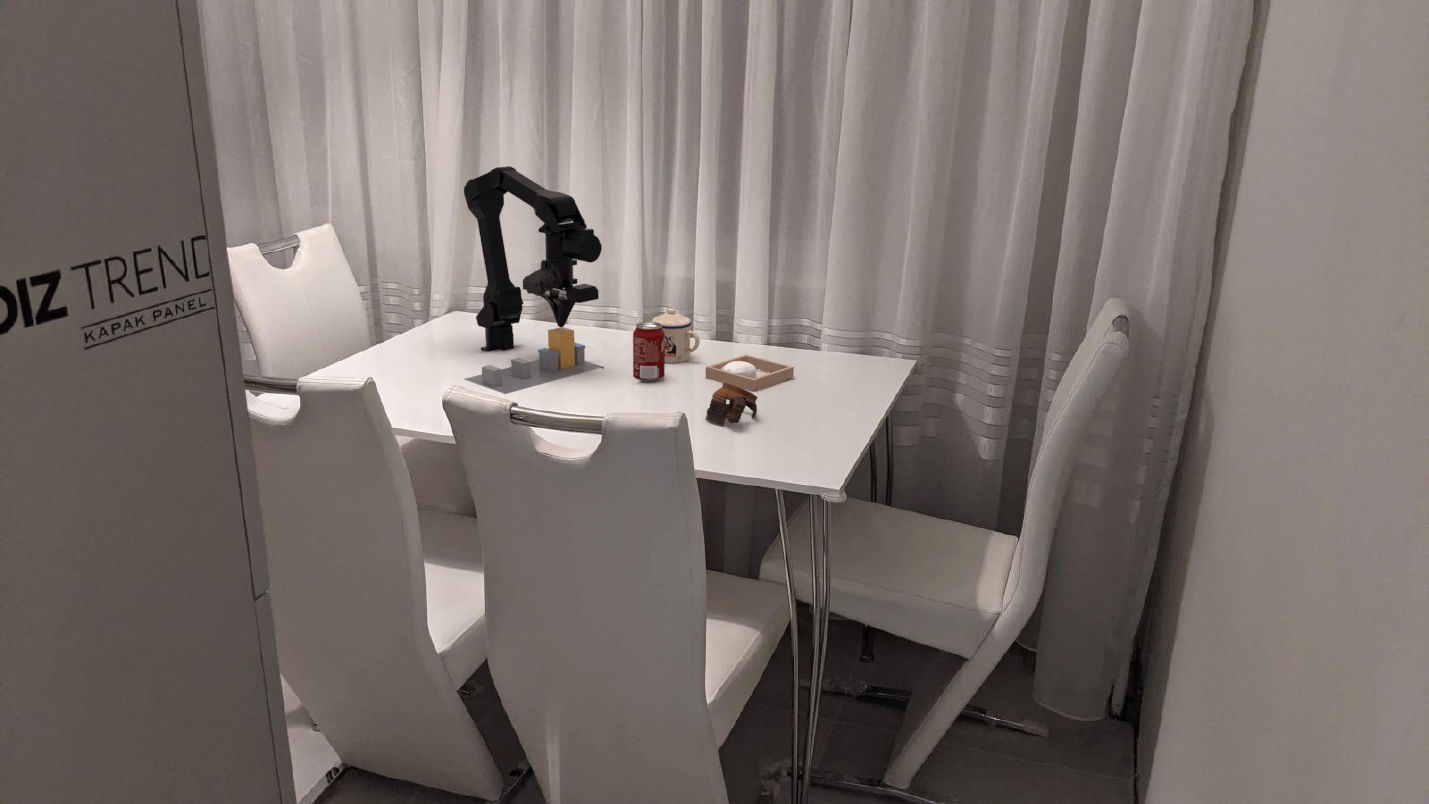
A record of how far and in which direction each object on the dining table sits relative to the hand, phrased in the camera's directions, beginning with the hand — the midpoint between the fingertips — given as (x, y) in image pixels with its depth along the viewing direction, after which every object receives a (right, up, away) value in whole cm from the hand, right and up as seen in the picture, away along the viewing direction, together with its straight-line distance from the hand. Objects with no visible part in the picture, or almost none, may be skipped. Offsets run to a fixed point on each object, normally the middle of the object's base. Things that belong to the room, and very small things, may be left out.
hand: (561, 326), depth 232 cm
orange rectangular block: (0, -8, +3) cm, 9 cm away
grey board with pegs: (-5, -11, -2) cm, 12 cm away
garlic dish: (+41, -11, 0) cm, 43 cm away
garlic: (+38, -12, 0) cm, 40 cm away
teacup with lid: (+25, -7, +13) cm, 29 cm away
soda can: (+19, -12, -2) cm, 23 cm away
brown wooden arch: (+37, -20, -26) cm, 49 cm away
